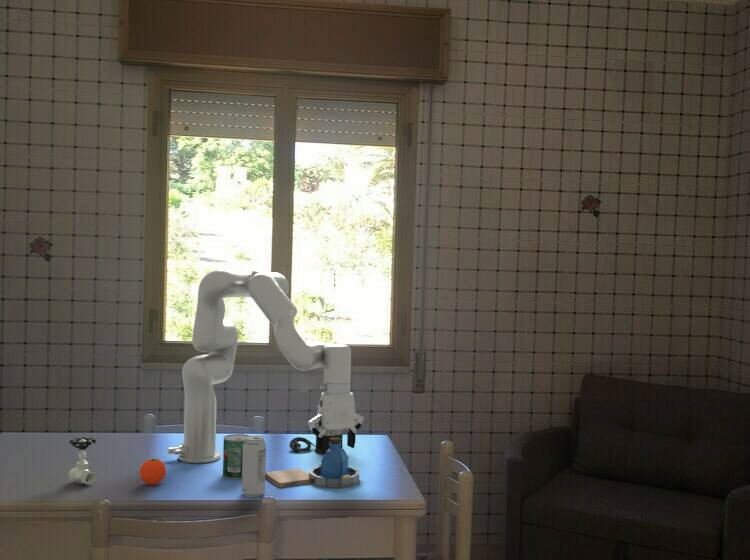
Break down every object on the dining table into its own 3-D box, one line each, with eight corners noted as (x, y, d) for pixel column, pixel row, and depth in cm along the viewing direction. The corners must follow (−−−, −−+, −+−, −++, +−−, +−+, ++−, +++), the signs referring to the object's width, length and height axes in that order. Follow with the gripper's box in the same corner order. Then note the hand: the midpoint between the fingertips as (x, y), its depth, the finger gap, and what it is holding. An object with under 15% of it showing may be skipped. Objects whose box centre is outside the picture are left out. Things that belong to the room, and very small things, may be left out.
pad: (279, 487, 203) (279, 483, 203) (264, 476, 213) (264, 472, 213) (315, 482, 209) (315, 478, 209) (299, 472, 218) (299, 468, 218)
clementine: (145, 479, 207) (146, 453, 207) (170, 480, 207) (170, 454, 207) (135, 487, 199) (136, 461, 199) (161, 488, 199) (161, 462, 199)
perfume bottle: (342, 484, 207) (343, 441, 207) (320, 482, 209) (321, 440, 208) (347, 478, 213) (348, 436, 213) (326, 476, 215) (327, 435, 214)
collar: (323, 490, 201) (323, 479, 201) (301, 476, 214) (301, 466, 213) (368, 484, 208) (368, 473, 208) (344, 471, 221) (344, 460, 221)
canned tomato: (220, 472, 215) (220, 435, 215) (246, 470, 218) (247, 433, 218) (225, 480, 208) (226, 441, 208) (253, 478, 211) (254, 439, 211)
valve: (79, 489, 197) (80, 443, 197) (63, 484, 200) (64, 440, 200) (100, 483, 202) (101, 439, 202) (84, 478, 206) (85, 435, 206)
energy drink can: (247, 489, 200) (249, 434, 200) (268, 492, 199) (269, 436, 198) (237, 496, 195) (238, 439, 194) (258, 499, 193) (260, 441, 192)
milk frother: (348, 453, 241) (350, 407, 241) (305, 459, 232) (306, 412, 232) (326, 443, 253) (327, 400, 253) (284, 449, 244) (285, 404, 244)
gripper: (315, 392, 203) (313, 455, 203) (370, 388, 211) (368, 448, 212) (303, 388, 209) (302, 449, 210) (357, 384, 218) (356, 442, 218)
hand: (335, 448), depth 211 cm, fingers open, 9 cm apart
